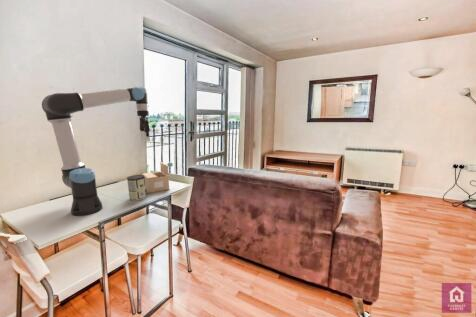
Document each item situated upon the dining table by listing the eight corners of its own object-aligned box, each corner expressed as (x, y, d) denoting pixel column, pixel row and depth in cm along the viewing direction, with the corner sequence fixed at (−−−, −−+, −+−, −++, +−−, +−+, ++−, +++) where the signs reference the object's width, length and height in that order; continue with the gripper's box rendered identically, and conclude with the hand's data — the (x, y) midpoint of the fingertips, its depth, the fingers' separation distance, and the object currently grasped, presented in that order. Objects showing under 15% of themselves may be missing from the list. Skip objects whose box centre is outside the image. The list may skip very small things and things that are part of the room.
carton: (149, 193, 163) (147, 178, 161) (143, 187, 178) (141, 173, 176) (169, 189, 171) (168, 175, 169) (162, 184, 186) (160, 170, 184)
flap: (167, 164, 168) (176, 163, 172) (160, 161, 182) (169, 160, 186) (167, 175, 169) (176, 174, 173) (160, 170, 183) (169, 170, 187)
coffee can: (134, 195, 160) (132, 174, 158) (149, 195, 159) (147, 174, 157) (126, 200, 150) (123, 178, 148) (141, 200, 149) (139, 178, 147)
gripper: (152, 109, 159) (155, 141, 163) (144, 110, 179) (146, 139, 183) (140, 109, 155) (144, 142, 159) (133, 110, 175) (136, 139, 179)
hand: (145, 140), depth 171 cm, fingers open, 13 cm apart
